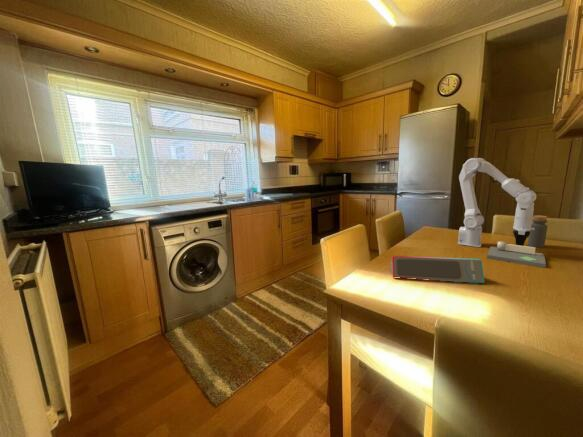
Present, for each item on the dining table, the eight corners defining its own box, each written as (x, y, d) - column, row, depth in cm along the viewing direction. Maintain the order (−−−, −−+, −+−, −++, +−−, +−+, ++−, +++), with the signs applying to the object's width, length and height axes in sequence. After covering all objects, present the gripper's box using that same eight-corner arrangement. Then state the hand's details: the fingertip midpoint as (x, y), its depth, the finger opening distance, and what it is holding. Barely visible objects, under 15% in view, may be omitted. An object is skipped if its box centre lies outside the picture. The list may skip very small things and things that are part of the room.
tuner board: (486, 258, 107) (487, 254, 107) (490, 249, 118) (490, 246, 117) (545, 267, 95) (545, 263, 94) (543, 256, 105) (543, 253, 105)
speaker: (478, 253, 88) (391, 250, 96) (489, 275, 81) (394, 270, 89) (471, 268, 94) (389, 264, 101) (480, 289, 87) (391, 284, 94)
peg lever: (496, 249, 112) (497, 242, 111) (497, 247, 114) (497, 240, 113) (542, 256, 102) (543, 248, 101) (541, 254, 104) (542, 246, 103)
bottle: (547, 247, 116) (552, 217, 113) (535, 247, 117) (540, 217, 114) (535, 243, 122) (540, 214, 119) (524, 244, 122) (528, 215, 119)
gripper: (536, 221, 100) (531, 252, 103) (535, 215, 111) (531, 244, 113) (513, 219, 105) (509, 249, 108) (514, 214, 115) (511, 241, 118)
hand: (519, 246), depth 111 cm, fingers closed
